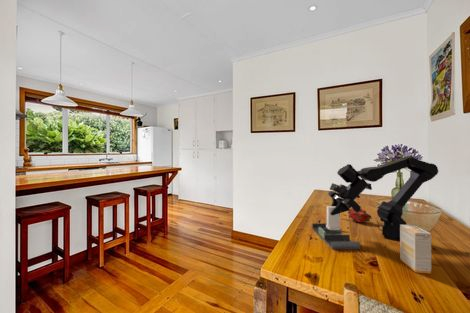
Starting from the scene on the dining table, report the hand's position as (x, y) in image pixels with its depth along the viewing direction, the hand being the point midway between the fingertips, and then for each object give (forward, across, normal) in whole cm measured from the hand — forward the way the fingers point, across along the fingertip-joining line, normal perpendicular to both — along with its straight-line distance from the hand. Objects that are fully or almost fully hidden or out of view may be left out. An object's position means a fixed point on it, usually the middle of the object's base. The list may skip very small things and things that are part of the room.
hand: (330, 213), depth 91 cm
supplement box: (-5, +23, +21) cm, 32 cm away
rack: (+7, 0, +9) cm, 11 cm away
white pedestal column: (+4, 0, +6) cm, 7 cm away
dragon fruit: (-10, -21, +26) cm, 35 cm away
